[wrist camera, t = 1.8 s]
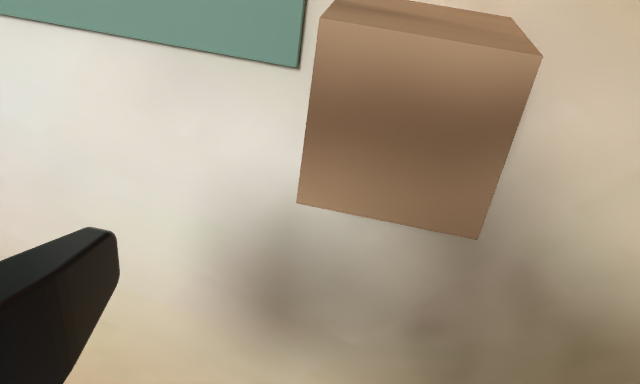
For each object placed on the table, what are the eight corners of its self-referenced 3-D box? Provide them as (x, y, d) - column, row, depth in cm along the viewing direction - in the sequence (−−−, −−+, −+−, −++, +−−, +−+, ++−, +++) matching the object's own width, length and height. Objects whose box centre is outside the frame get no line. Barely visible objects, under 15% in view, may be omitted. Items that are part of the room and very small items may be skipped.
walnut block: (464, 165, 19) (477, 239, 15) (322, 138, 20) (296, 203, 15) (510, 16, 16) (542, 56, 12) (344, -11, 17) (319, 17, 13)
